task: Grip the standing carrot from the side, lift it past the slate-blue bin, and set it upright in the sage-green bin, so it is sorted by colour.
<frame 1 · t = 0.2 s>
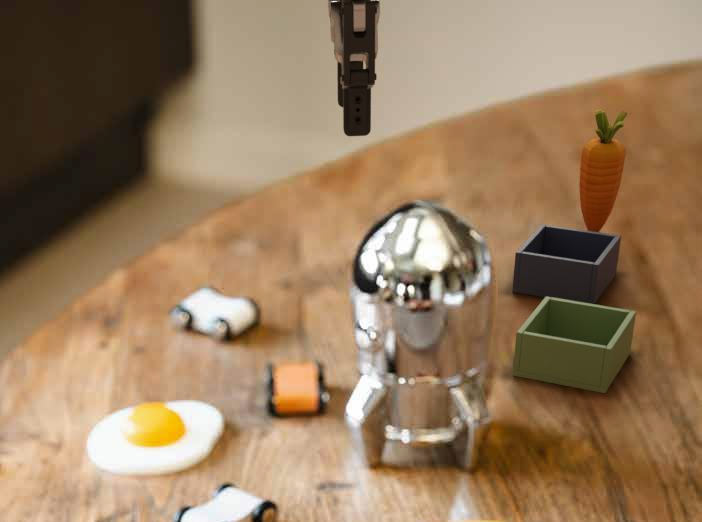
hand: (353, 119, 102), 25 cm above the table, tool pointing down, fingers open, 8 cm apart
green bin: (571, 364, 119), on the table
carrot: (592, 237, 146), on the table
blue bin: (564, 283, 135), on the table
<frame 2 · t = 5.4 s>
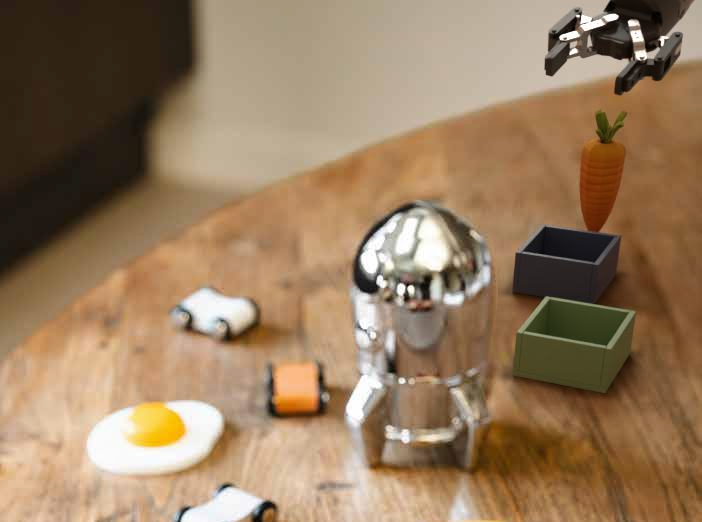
hand: (582, 78, 134), 19 cm above the table, tool tilted 70°, fingers open, 8 cm apart
nothing on the table moved.
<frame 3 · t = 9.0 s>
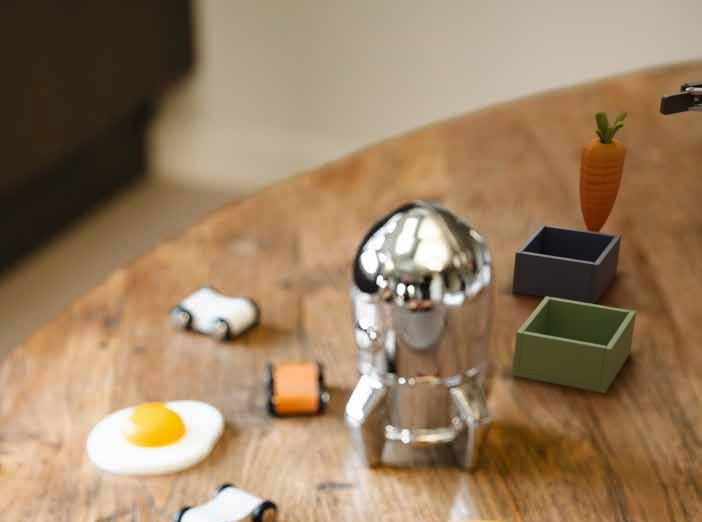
hand: (685, 114, 142), 13 cm above the table, tool horizontal, fingers open, 8 cm apart
nothing on the table moved.
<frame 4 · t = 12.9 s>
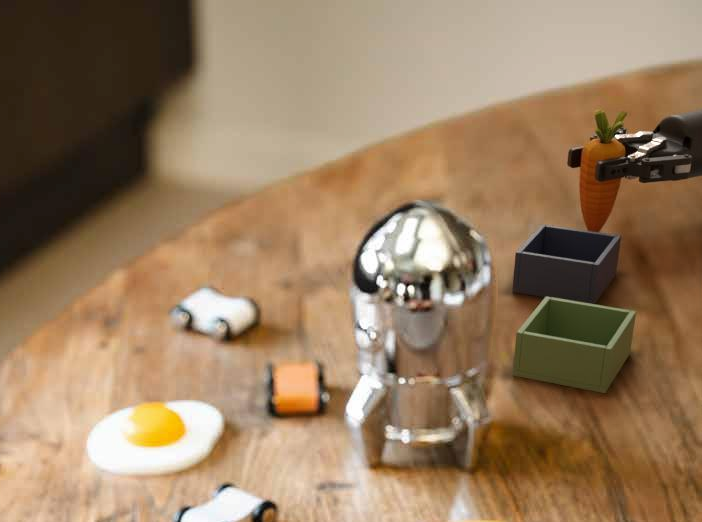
hand: (583, 165, 140), 9 cm above the table, tool horizontal, fingers closed on carrot, 5 cm apart
carrot: (593, 238, 146), on the table, touching gripper
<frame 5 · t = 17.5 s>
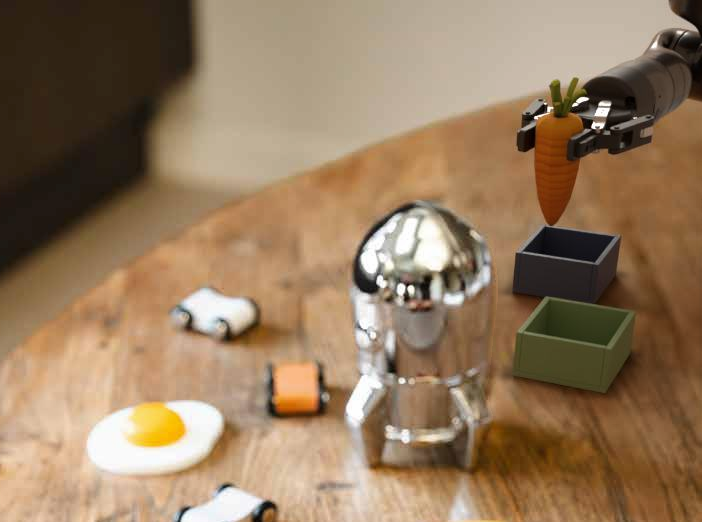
hand: (545, 146, 120), 17 cm above the table, tool horizontal, fingers closed on carrot, 5 cm apart
carrot: (551, 227, 127), point 8 cm above the table, touching gripper
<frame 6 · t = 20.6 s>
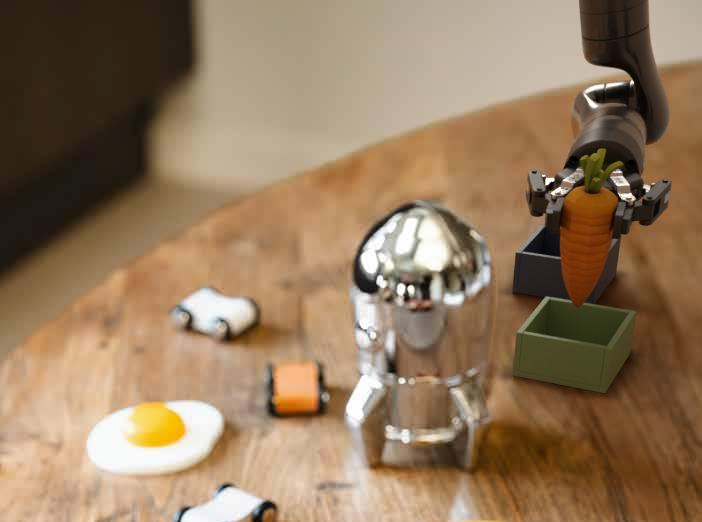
hand: (586, 225, 109), 15 cm above the table, tool horizontal, fingers closed on carrot, 5 cm apart
carrot: (577, 308, 116), point 6 cm above the table, touching gripper
when the fingers open (10 cm above the table, at t = 22.6 s): carrot stays where it is, resting on green bin.
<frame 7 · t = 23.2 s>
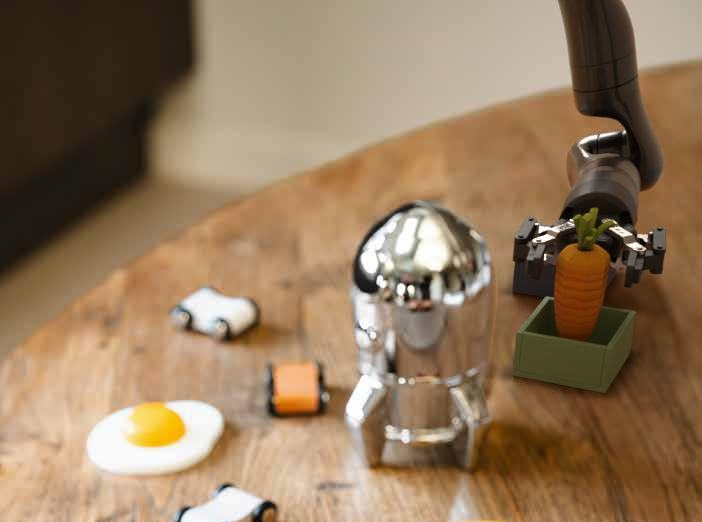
hand: (581, 274, 112), 10 cm above the table, tool horizontal, fingers open, 8 cm apart
carrot: (571, 360, 119), resting on green bin
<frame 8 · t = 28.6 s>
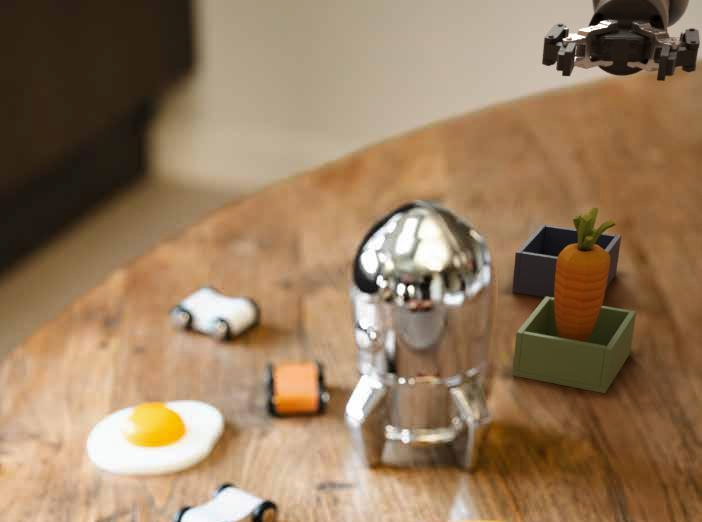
hand: (614, 67, 110), 26 cm above the table, tool horizontal, fingers open, 8 cm apart
nothing on the table moved.
at the end: carrot inside the target area in the green bin (0.1 cm from its centre), point 0.4 cm above the green bin's base; carrot tilted 0°; the gripper is holding nothing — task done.
